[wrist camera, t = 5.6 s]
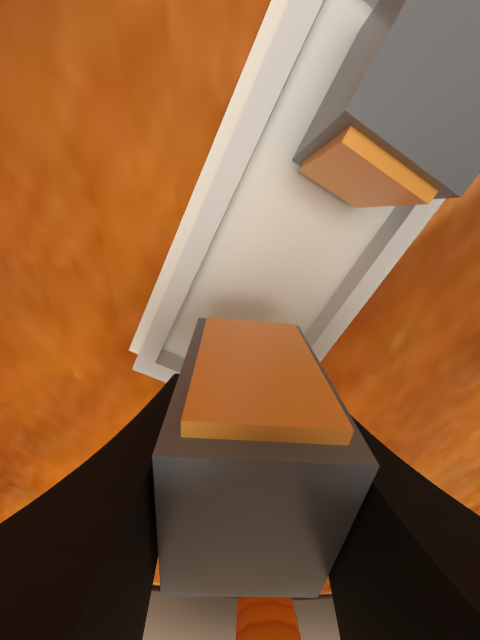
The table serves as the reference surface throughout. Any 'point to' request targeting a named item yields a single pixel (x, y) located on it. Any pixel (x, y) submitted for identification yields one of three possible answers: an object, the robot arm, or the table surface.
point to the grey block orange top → (255, 466)
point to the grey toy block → (401, 108)
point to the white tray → (275, 205)
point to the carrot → (266, 619)
